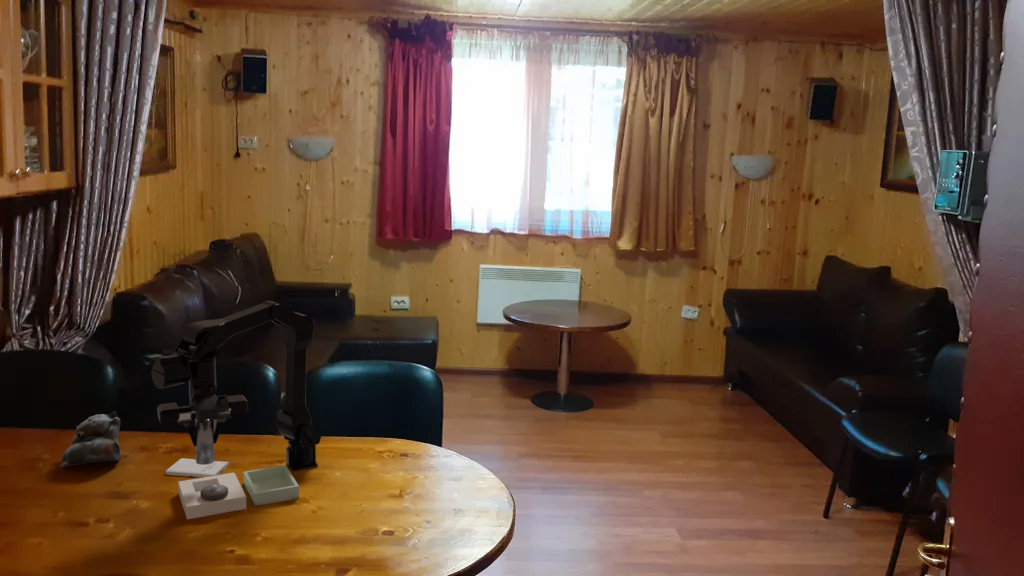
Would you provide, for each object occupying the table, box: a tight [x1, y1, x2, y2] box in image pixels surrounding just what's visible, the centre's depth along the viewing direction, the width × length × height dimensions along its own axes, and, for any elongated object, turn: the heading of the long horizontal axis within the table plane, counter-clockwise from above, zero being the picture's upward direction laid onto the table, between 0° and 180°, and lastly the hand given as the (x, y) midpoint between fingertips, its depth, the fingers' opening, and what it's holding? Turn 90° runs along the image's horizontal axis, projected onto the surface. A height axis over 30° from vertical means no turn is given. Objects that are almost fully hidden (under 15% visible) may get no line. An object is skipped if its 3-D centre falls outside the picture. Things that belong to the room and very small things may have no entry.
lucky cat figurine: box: [59, 410, 122, 469], centre depth 203 cm, size 15×12×14 cm
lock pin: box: [193, 418, 216, 465], centre depth 184 cm, size 4×4×10 cm
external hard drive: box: [165, 458, 230, 478], centre depth 201 cm, size 2×8×12 cm
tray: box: [242, 464, 300, 507], centre depth 191 cm, size 10×13×3 cm
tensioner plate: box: [177, 472, 247, 520], centre depth 184 cm, size 12×14×5 cm
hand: (204, 444), depth 184 cm, fingers closed on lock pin, 4 cm apart
